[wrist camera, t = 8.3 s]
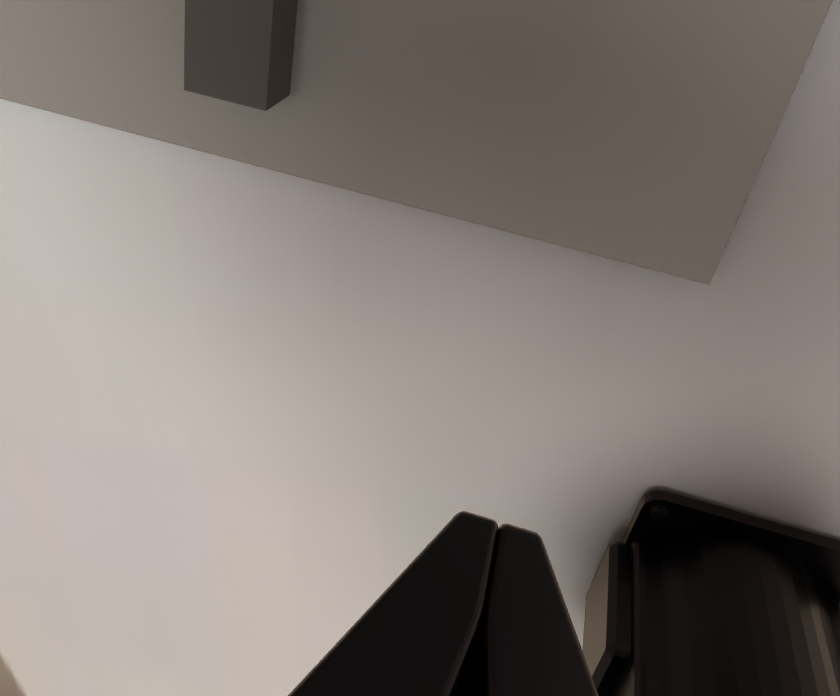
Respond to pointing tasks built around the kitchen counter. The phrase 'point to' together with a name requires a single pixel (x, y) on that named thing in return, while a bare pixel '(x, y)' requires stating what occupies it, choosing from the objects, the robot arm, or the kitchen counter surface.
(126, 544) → the kitchen counter surface
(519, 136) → the rubber mat
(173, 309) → the kitchen counter surface
